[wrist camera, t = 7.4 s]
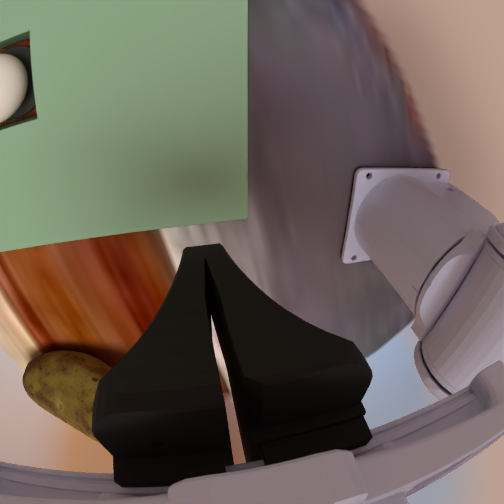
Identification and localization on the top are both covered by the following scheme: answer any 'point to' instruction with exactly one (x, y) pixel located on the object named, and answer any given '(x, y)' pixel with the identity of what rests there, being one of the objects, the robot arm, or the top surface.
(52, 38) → the putting mat
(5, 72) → the ball
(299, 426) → the robot arm
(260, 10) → the top surface
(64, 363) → the potato
